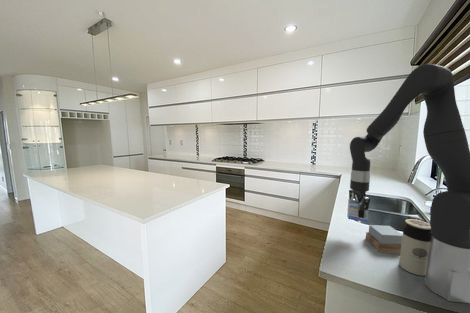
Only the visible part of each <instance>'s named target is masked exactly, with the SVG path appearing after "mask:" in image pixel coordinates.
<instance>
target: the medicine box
mask: <svg viewBox="0 0 470 313" xmlns="http://www.w3.org/2000/svg"><path fill="white" fill-rule="evenodd" d="M347 201H348V202H347V219H348V220H353V221H358V222H365V223H368V220H369V209H370V207H369V208H368V210H365V211H364V218H359V217H358V211H359V207H358V204H357V201H356V200H351V199H349V198H348V200H347ZM360 203H362V202H360ZM365 207H366V205H365Z"/></svg>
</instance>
